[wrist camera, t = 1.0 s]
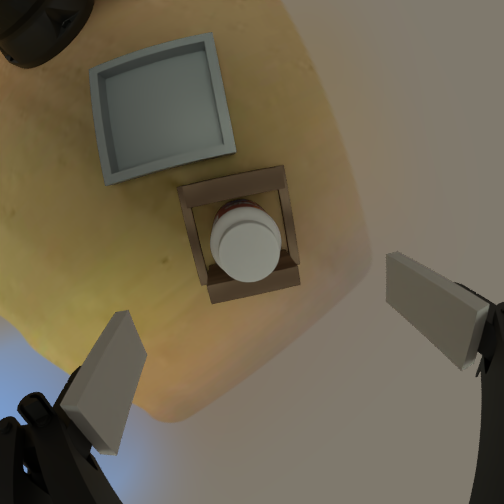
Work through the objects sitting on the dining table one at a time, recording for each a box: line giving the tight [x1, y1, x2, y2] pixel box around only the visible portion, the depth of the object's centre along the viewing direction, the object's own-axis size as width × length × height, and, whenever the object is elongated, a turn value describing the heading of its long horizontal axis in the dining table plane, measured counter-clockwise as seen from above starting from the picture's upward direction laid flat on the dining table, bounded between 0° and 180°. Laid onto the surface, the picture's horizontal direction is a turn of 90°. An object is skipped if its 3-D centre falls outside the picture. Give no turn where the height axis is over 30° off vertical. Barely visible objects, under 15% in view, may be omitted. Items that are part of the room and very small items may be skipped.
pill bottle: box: [210, 199, 281, 282], centre depth 26 cm, size 6×6×11 cm
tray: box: [89, 32, 237, 186], centre depth 26 cm, size 14×14×3 cm
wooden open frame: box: [177, 165, 300, 304], centre depth 29 cm, size 12×12×6 cm
